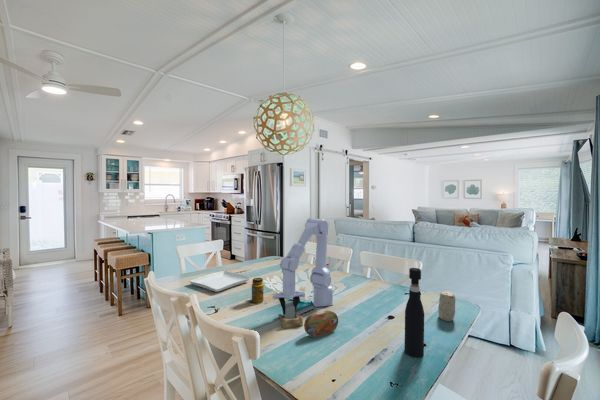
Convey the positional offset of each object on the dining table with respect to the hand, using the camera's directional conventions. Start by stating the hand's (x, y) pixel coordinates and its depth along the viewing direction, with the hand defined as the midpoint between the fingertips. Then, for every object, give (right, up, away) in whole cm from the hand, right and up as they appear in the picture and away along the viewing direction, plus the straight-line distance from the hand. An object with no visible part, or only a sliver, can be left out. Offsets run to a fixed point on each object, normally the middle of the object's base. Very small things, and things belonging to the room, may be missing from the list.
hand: (288, 313), depth 129 cm
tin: (+14, -3, -14) cm, 19 cm away
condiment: (-18, -2, +19) cm, 26 cm away
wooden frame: (+1, -2, -3) cm, 4 cm away
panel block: (0, -2, 0) cm, 2 cm away
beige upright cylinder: (+71, -2, -1) cm, 71 cm away
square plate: (-44, -1, +47) cm, 65 cm away
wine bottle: (+46, -3, -27) cm, 53 cm away
